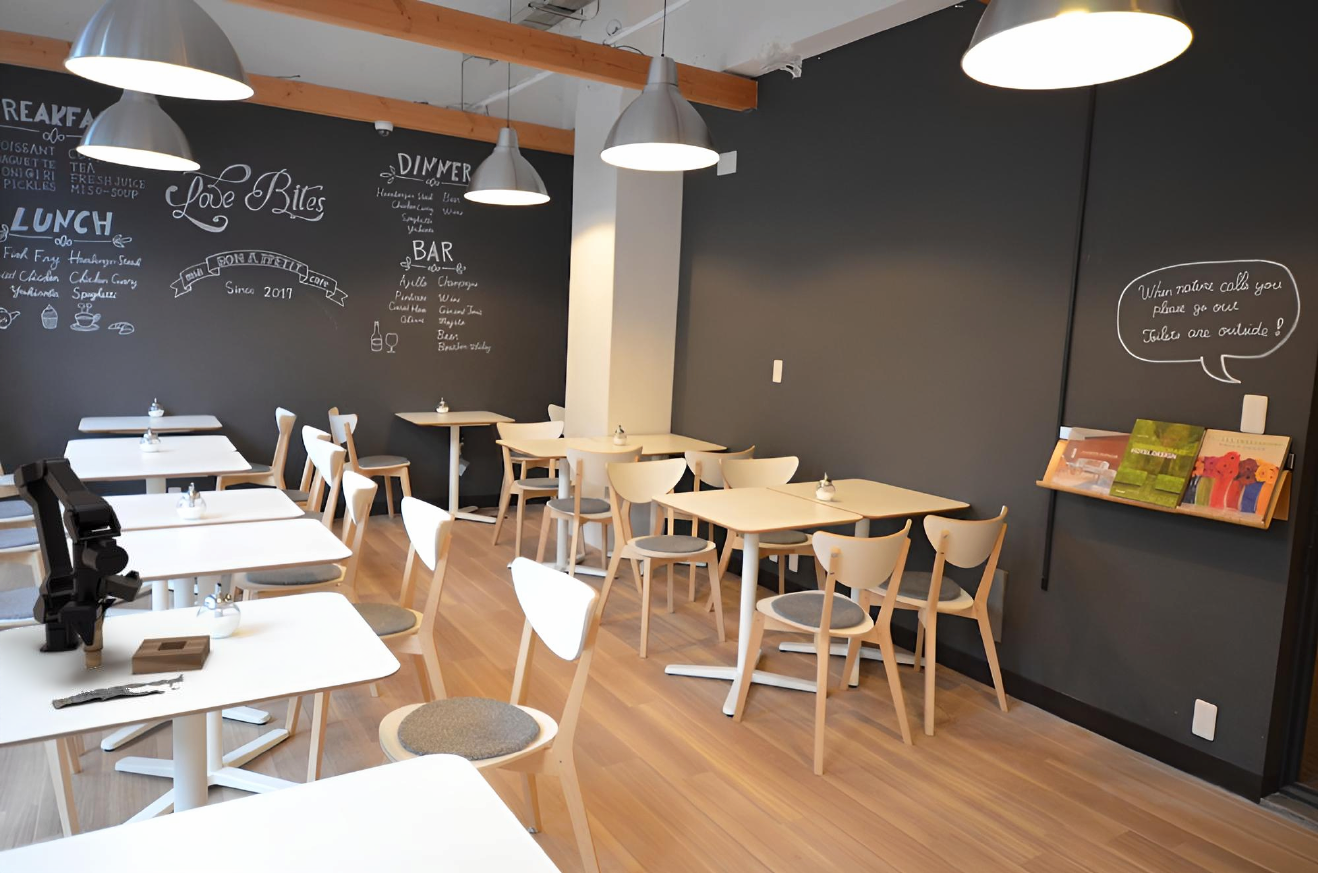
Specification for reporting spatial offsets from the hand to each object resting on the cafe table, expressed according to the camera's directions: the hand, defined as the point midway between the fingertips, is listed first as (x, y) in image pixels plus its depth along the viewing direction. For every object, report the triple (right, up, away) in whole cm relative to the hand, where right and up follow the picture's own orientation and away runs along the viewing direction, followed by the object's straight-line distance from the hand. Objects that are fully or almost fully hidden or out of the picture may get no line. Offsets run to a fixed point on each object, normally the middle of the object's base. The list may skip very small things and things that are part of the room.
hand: (93, 641), depth 169 cm
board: (+13, -5, +4) cm, 15 cm away
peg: (0, -5, +1) cm, 5 cm away
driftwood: (+12, -8, -11) cm, 18 cm away
